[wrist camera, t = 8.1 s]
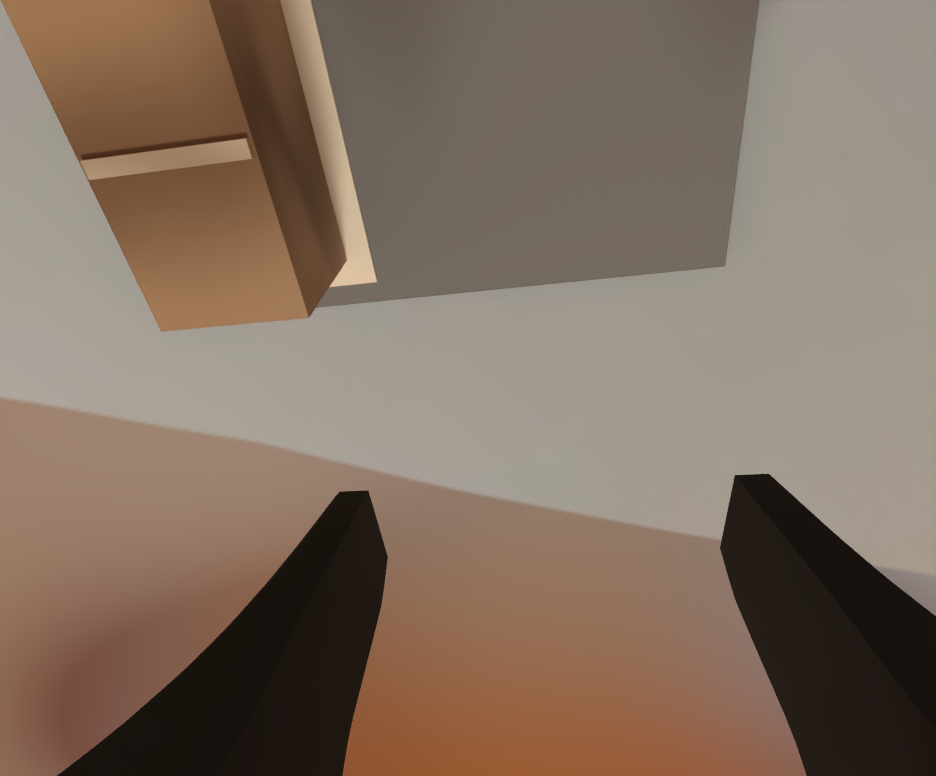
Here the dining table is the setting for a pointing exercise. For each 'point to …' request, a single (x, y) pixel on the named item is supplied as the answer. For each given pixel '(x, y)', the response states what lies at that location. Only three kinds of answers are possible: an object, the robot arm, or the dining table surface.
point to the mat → (523, 137)
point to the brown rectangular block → (193, 150)
